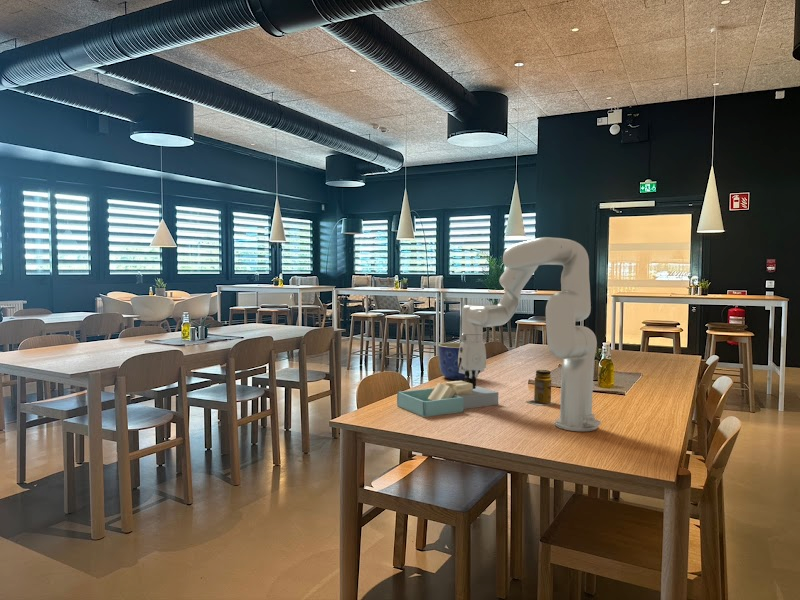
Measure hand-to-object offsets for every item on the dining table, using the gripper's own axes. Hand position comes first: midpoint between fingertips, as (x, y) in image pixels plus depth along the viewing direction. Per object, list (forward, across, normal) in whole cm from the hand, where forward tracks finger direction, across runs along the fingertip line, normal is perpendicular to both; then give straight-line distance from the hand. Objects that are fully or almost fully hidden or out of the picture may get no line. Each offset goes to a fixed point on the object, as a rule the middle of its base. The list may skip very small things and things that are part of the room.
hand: (471, 388), depth 208 cm
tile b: (+2, -12, 0) cm, 12 cm away
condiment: (+6, +24, -11) cm, 27 cm away
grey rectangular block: (+6, -1, 0) cm, 6 cm away
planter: (+6, +24, +44) cm, 51 cm away
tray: (+6, -18, 0) cm, 19 cm away
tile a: (+1, -6, 0) cm, 6 cm away
